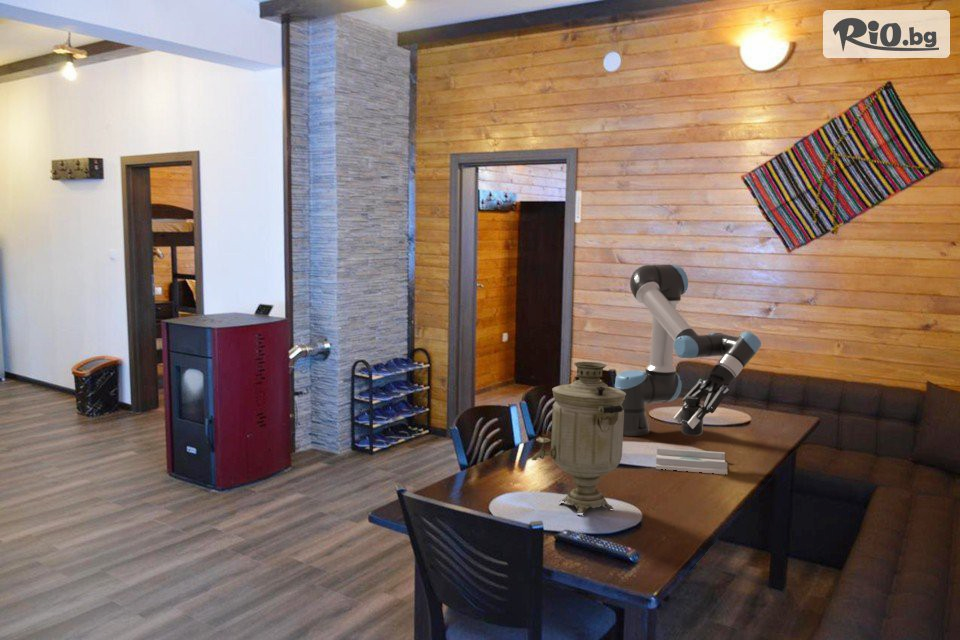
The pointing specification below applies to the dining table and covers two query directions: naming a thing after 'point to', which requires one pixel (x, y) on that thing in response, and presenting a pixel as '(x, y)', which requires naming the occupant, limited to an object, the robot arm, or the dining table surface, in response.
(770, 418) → the dining table surface
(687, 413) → the supplement bottle
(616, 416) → the samovar
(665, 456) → the rail cradle
